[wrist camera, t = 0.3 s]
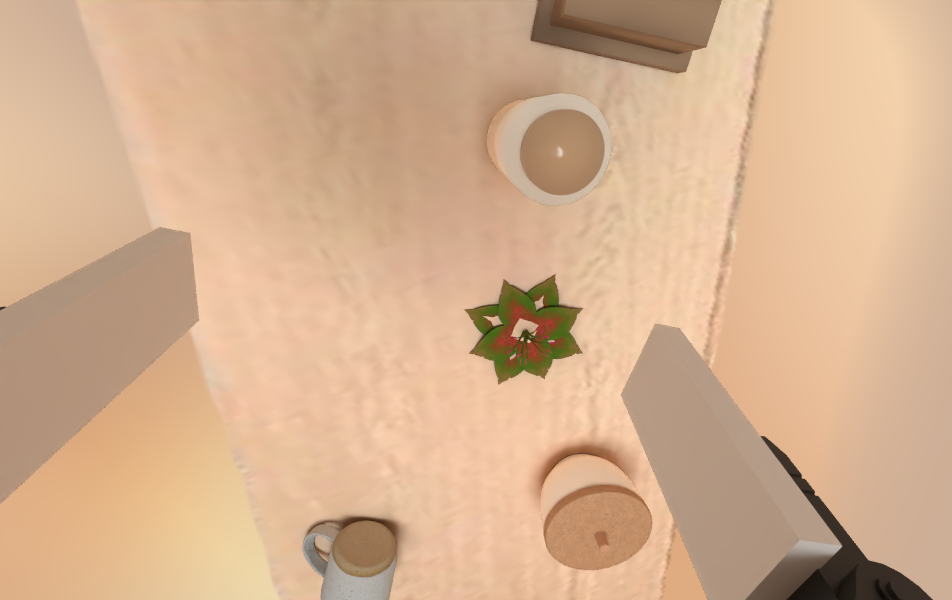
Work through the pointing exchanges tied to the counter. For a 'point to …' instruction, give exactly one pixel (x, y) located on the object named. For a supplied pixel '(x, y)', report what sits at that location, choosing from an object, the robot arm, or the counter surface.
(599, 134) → the canister
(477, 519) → the counter surface
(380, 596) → the ceramic mug
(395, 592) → the counter surface
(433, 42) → the counter surface
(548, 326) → the lily flower
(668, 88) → the counter surface
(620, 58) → the pedestal
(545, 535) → the lidded jar
